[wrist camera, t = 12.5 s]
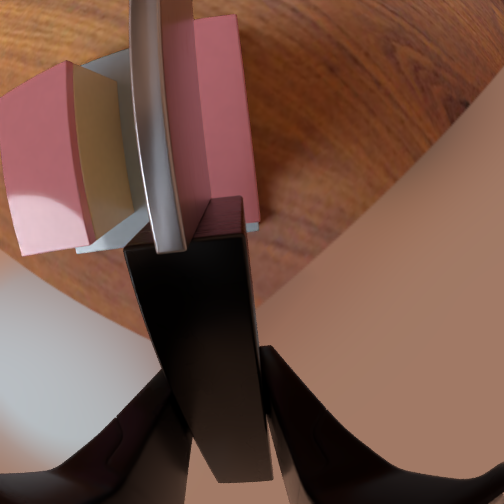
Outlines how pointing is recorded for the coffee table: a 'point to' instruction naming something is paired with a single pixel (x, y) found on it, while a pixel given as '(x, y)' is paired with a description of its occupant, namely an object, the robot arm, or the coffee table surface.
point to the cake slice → (226, 112)
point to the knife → (193, 254)
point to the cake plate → (74, 158)
